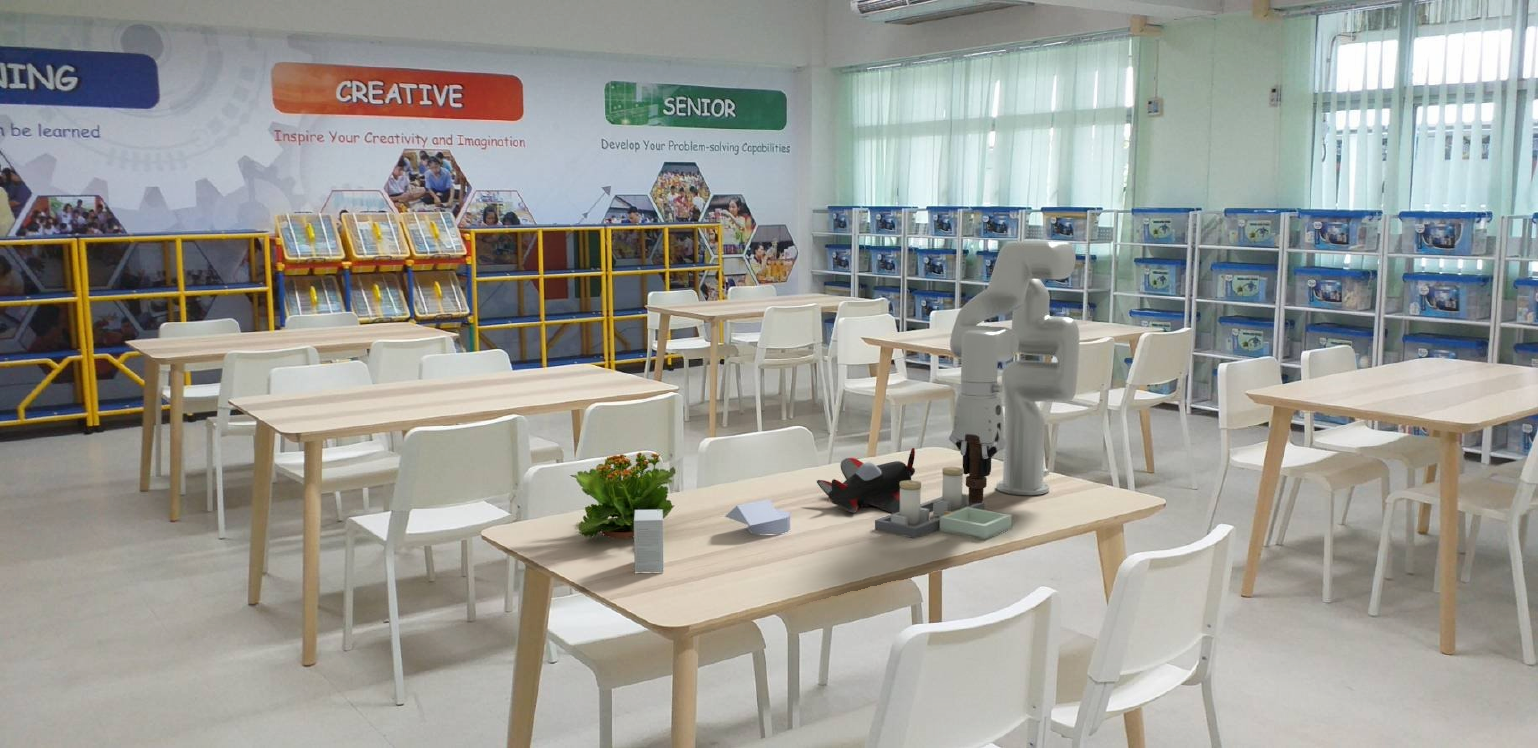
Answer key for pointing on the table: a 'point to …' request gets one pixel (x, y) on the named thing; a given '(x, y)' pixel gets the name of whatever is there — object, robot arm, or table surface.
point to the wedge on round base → (761, 517)
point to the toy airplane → (869, 484)
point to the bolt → (975, 470)
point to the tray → (975, 523)
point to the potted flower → (622, 494)
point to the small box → (648, 540)
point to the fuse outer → (910, 501)
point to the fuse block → (922, 518)
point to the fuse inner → (952, 487)
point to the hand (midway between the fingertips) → (976, 473)
